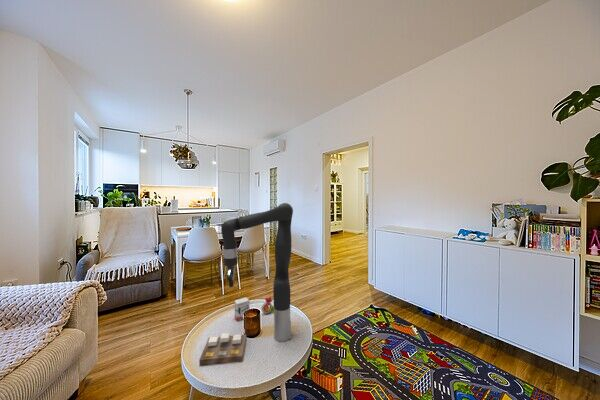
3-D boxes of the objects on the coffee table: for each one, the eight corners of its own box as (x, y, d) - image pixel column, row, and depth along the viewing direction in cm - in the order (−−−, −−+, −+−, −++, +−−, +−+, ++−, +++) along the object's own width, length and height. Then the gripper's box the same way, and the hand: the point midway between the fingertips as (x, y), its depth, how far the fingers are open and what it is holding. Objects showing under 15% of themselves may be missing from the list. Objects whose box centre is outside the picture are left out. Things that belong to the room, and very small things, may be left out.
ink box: (237, 322, 142) (236, 303, 142) (234, 318, 146) (234, 300, 146) (250, 317, 147) (249, 299, 146) (247, 314, 151) (246, 296, 150)
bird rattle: (267, 319, 148) (278, 310, 152) (260, 306, 145) (272, 297, 149) (264, 315, 153) (275, 306, 157) (257, 302, 151) (268, 293, 155)
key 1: (218, 340, 120) (218, 336, 119) (216, 345, 116) (216, 341, 115) (210, 340, 119) (210, 337, 119) (208, 346, 115) (208, 342, 115)
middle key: (229, 336, 120) (229, 332, 120) (228, 341, 116) (228, 337, 116) (222, 337, 120) (222, 333, 120) (220, 342, 116) (220, 338, 116)
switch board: (246, 339, 125) (246, 333, 125) (242, 361, 110) (242, 355, 109) (208, 343, 123) (208, 337, 123) (199, 366, 107) (199, 359, 107)
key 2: (241, 338, 121) (241, 334, 121) (240, 343, 117) (240, 339, 117) (233, 338, 121) (233, 335, 120) (232, 343, 117) (232, 340, 116)
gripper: (235, 259, 120) (236, 291, 121) (239, 252, 133) (239, 281, 134) (220, 260, 119) (221, 292, 120) (225, 252, 132) (226, 282, 133)
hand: (231, 286), depth 127 cm, fingers closed
